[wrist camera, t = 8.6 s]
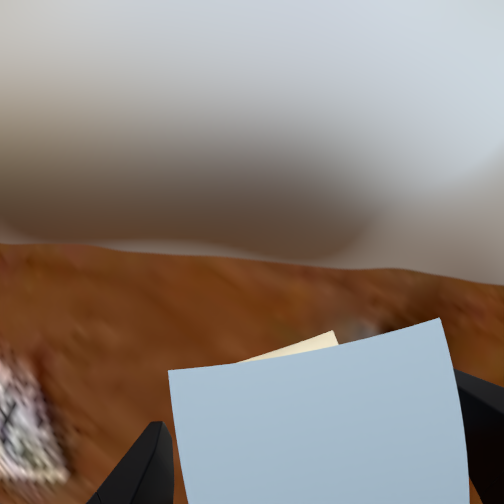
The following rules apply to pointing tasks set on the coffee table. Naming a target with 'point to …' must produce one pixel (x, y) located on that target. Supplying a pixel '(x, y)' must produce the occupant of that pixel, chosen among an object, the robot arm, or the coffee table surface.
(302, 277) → the coffee table surface
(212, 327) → the coffee table surface
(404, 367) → the blue pillar
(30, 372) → the coffee table surface
